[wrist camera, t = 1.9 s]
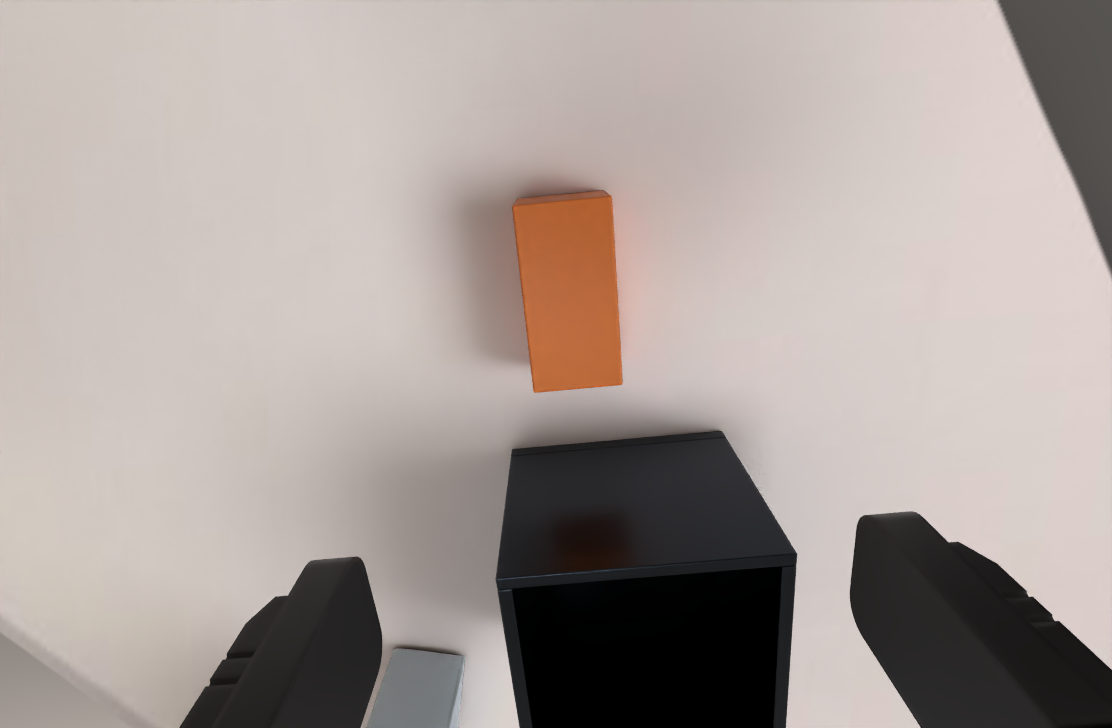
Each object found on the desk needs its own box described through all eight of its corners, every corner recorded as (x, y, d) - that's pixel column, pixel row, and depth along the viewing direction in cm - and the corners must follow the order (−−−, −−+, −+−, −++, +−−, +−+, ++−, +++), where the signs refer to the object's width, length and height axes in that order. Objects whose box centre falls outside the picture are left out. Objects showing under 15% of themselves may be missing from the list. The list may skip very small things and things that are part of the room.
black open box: (511, 448, 33) (495, 578, 23) (722, 430, 33) (797, 553, 23) (535, 624, 38) (530, 797, 28) (720, 610, 38) (783, 778, 28)
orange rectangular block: (516, 198, 29) (511, 205, 25) (604, 190, 28) (612, 195, 25) (535, 367, 32) (533, 393, 28) (615, 360, 32) (622, 385, 28)
